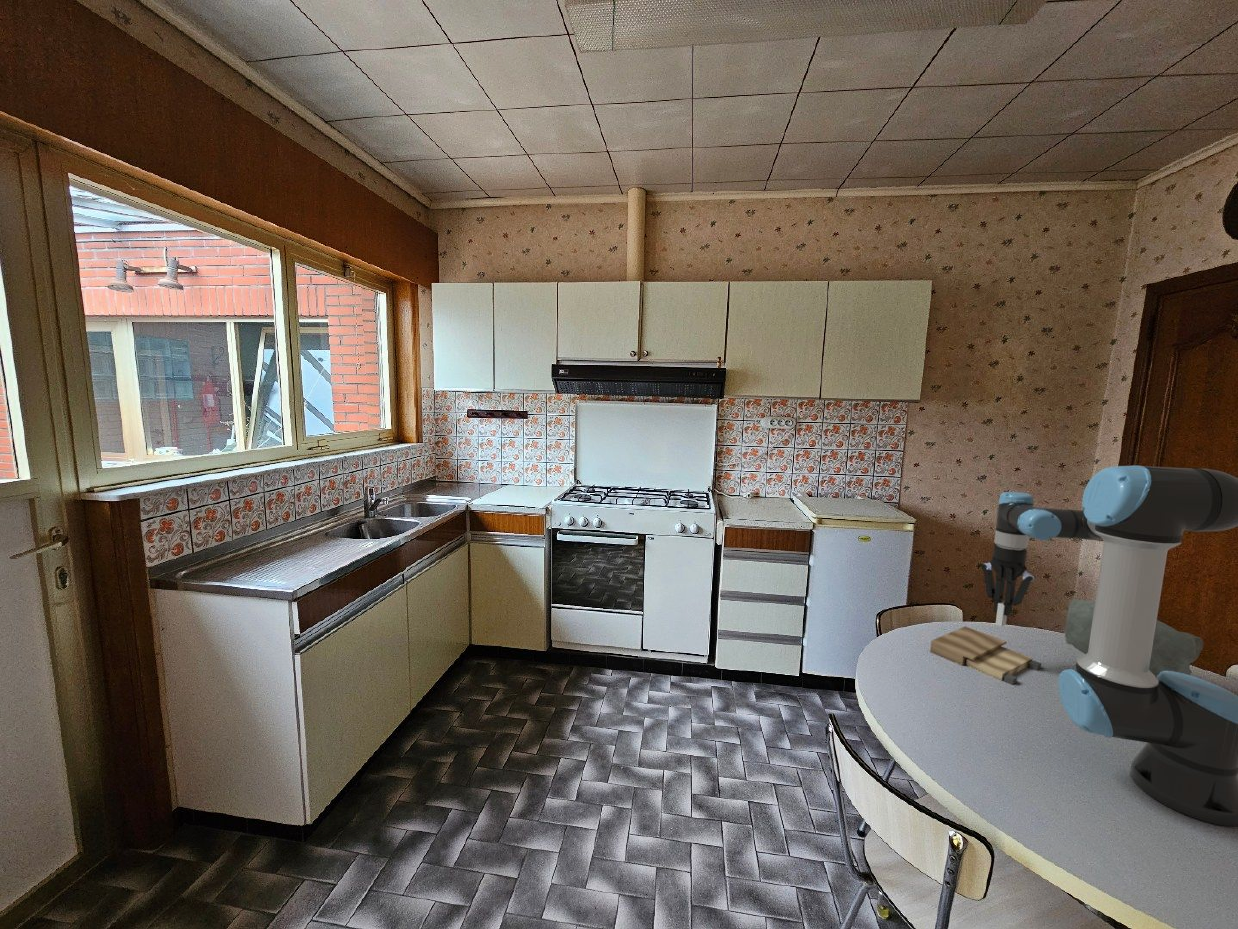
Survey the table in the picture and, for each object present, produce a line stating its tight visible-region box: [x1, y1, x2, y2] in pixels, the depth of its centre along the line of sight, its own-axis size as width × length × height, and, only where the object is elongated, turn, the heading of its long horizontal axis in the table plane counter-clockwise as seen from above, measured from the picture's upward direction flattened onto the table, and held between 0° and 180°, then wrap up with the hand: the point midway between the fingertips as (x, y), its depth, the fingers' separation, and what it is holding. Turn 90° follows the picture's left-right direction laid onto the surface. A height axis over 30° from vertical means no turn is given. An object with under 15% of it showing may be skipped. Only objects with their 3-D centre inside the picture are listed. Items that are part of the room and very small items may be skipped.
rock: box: [1064, 598, 1204, 679], centre depth 141 cm, size 27×6×20 cm, turn 42°
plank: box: [965, 645, 1033, 682], centre depth 146 cm, size 18×9×5 cm, turn 119°
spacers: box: [1003, 660, 1042, 685], centre depth 141 cm, size 17×2×2 cm, turn 120°
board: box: [929, 626, 1007, 666], centre depth 153 cm, size 20×12×4 cm, turn 120°
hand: (1000, 624), depth 145 cm, fingers closed
